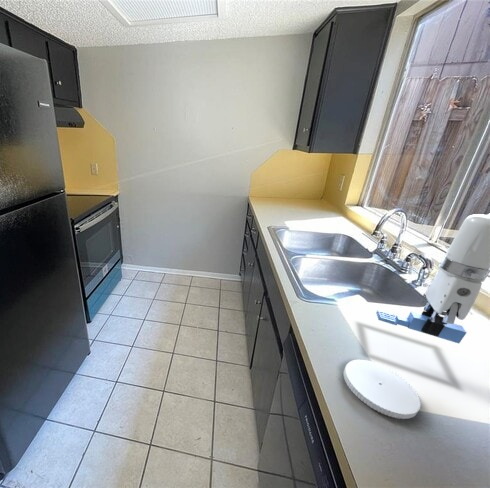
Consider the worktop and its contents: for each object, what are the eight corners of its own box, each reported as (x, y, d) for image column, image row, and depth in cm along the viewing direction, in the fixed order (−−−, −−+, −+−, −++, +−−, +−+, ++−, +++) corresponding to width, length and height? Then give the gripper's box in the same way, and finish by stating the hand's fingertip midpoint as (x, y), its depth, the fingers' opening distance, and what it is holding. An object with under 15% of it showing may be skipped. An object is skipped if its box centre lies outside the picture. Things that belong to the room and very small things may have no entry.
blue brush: (453, 335, 66) (461, 324, 65) (459, 344, 63) (467, 333, 62) (376, 312, 73) (381, 302, 72) (378, 320, 70) (383, 309, 69)
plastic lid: (402, 379, 64) (406, 372, 63) (427, 434, 52) (433, 426, 51) (338, 359, 69) (341, 352, 68) (347, 404, 58) (351, 397, 57)
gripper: (507, 290, 51) (459, 357, 59) (469, 259, 64) (434, 317, 72) (456, 279, 55) (417, 343, 62) (430, 251, 68) (400, 307, 75)
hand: (427, 329), depth 67 cm, fingers closed on blue brush, 2 cm apart
